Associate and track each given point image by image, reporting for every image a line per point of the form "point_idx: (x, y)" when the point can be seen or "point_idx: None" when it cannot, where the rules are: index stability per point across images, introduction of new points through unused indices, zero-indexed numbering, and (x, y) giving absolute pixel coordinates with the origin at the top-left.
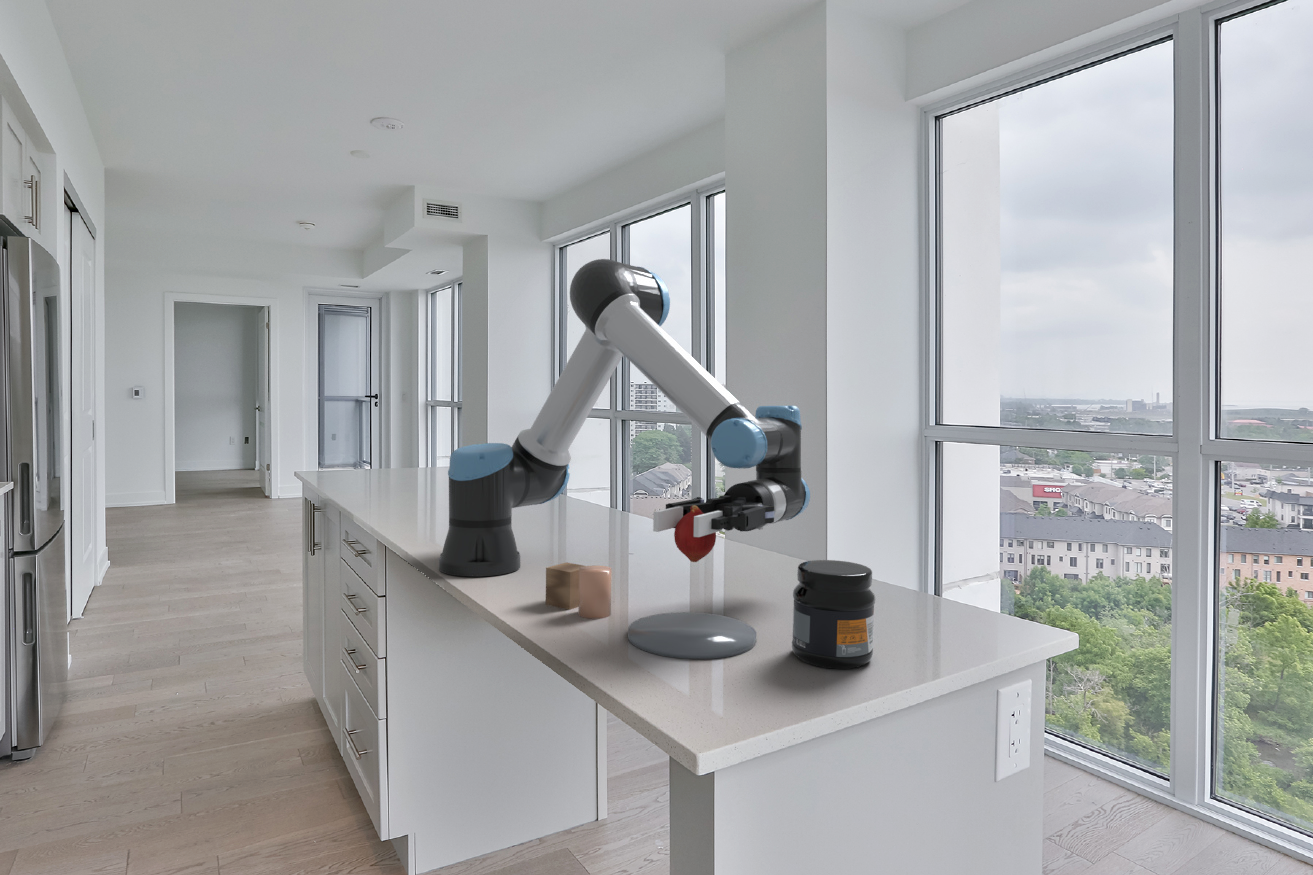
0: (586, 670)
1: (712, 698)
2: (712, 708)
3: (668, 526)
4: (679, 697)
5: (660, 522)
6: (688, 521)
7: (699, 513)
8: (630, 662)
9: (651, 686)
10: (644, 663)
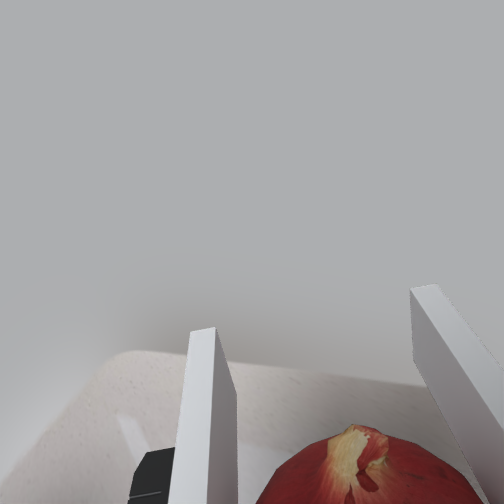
0: (370, 388)
1: (147, 445)
2: (135, 422)
3: (452, 422)
4: None
5: (420, 343)
6: (339, 434)
7: (312, 477)
8: None
9: (247, 415)
10: None
